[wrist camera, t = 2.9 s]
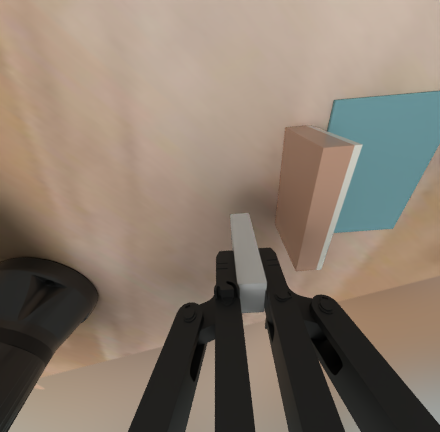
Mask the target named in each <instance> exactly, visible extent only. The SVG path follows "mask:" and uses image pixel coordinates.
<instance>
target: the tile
mask: <svg viewBox="0 0 440 432" xmlns="http://www.w3.org/2000/svg"><path fill="white" fill-rule="evenodd" d="M361 148H362V144H360V143H357V142H354V141H352V140H349V139H346V138H344V137H341V136H338V135H336V134H333V133H330V132H328V131H325V130H322V129H320V128H317V127H314V126H312V125H307V126H295V127H285V136H284V145H283V154H282V163H281V172H280V182H279V191H278V200H277V209H276V219H275V226H276V228H277V230H278V232H279V235H280V237H281V239H282V241H283V243H284V246H285V248H286V250H287V252H288V255H289V257H290V259H291V261H292V264H293V266H294V268H295V270H296V271H307V270H321V269H322V266H323V263H324V260H325V257H326V253H327V250H328V247H329V244H330V241H331V238H332V235H333V232H334V229H335V226H336V223H337V220H338V217H339V214H340V211H341V208H342V205H343V202H344V199H345V196H346V193H347V190H348V187H349V184H350V181H351V178H352V175H353V172H354V169H355V166H356V163H357V160H358V157H359V154H360V151H361Z"/></svg>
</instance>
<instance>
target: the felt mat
mask: <svg viewBox="0 0 440 432" xmlns="http://www.w3.org/2000/svg"><path fill="white" fill-rule="evenodd" d="M327 131H328V132H330V133H333V134H336V135H338V136H341V137H344V138H346V139H349V140H352V141H354V142H357V143H360V144H362V148H361V151H360V154H359V157H358V160H357V163H356V166H355V169H354V172H353V175H352V178H351V181H350V184H349V187H348V190H347V193H346V196H345V199H344V202H343V205H342V208H341V211H340V214H339V217H338V220H337V223H336V226H335V229H334V232H333V233H339V232H353V231H367V230H380V229H393V228H394V226H395V224H396V222H397V220H398V219H399V217H400V215H401V213H402V211H403V209H404V208H405V206H406V204H407V202H408V200H409V198H410V197H411V195H412V193H413V191H414V189H415V188H416V186H417V184H418V182H419V180H420V178H421V177H422V175H423V173H424V171H425V169H426V168H427V166H428V164H429V162H430V160H431V158H432V157H433V155H434V153H435V151H436V149H437V148H438V146H439V144H440V91H432V92H421V93H410V94H398V95H387V96H375V97H364V98H352V99H341V100H334V102H333V107H332V111H331V116H330V120H329V125H328V129H327Z"/></svg>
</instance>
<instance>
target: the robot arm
mask: <svg viewBox="0 0 440 432" xmlns="http://www.w3.org/2000/svg"><path fill="white" fill-rule="evenodd" d="M230 221H231V240H232V250H233V251H219V253H218V255H217V257H216V285H215V288H214V296H213V298H212V299H210V300H209V301H207V302H205V303H202V304H200V305H198V304H196V303H187V304H184V305H183V306H182V307H181V308H180V309H179V311H178V312H177V314H176V317H175V319H174V322H173V324H172V327H171V329H170V331H169V334H168V336H167V339H166V341H165V343H164V346H163V349H162V351H161V353H160V356H159V358H158V360H157V363H156V365H155V368H154V370H153V373H152V375H151V377H150V380H149V382H148V385H147V387H146V389H145V392H144V395H143V397H142V399H141V402H140V404H139V406H138V409H137V411H136V414H135V416H134V418H133V421H132V423H131V426H130V428H129V430H128V432H185V430H186V426H187V422H188V418H189V414H190V410H191V406H192V402H193V398H194V394H195V390H196V386H197V382H198V378H199V374H200V370H201V366H202V362H203V358H204V354H205V350H206V346H207V343H208V342H210V341H212V340H214V339H215V432H255V425H254V416H253V407H252V398H251V390H250V381H249V372H248V364H247V356H246V346H245V337H244V329H243V320H242V313H251V312H264V308H265V312H266V322H265V329H267V330H268V334H269V339H270V344H271V348H272V353H273V358H274V363H275V368H276V372H277V377H278V382H279V387H280V392H281V396H282V401H283V406H284V411H285V416H286V420H287V425H288V430H289V432H345V430H344V428H343V425H342V422H341V420H340V417H339V414H338V412H337V409H336V406H335V403H334V401H333V398H332V396H331V393H330V390H329V387H328V385H327V382H326V379H325V377H324V374H323V371H322V369H321V366H320V363H321V364H322V366H323V368H324V370H325V371H326V373H327V375H328V376H329V378H330V380H331V381H332V383H333V385H334V387H335V388H336V390H337V392H338V393H339V395H340V397H341V399H342V400H343V402H344V404H345V405H346V407H347V409H348V411H349V412H350V414H351V415H352V417H353V419H354V421H355V422H356V424H357V426H358V428H359V429H360V431H361V432H440V425H439V424H438V422H437V421H436V420H435V419H434V418H433V416H432V415H431V414H430V413H429V412H428V411H427V409H426V408H425V407H424V406H423V404H422V403H421V402H420V401H419V400H418V398H416V396H415V395H414V394H413V392H412V391H411V390H410V389H409V388H408V386H407V385H406V384H405V383H404V382H403V381H402V379H401V378H400V377H399V376H398V375H397V373H396V372H395V371H394V370H393V369H392V367H391V366H390V365H389V364H388V363H387V361H386V360H385V359H384V358H383V357H382V355H381V354H380V353H379V352H378V351H377V350H376V349H375V347H374V346H373V345H372V344H371V342H370V341H369V340H368V339H367V338H366V336H365V335H364V334H363V333H362V332H361V330H360V329H359V328H358V327H357V326H356V324H355V323H354V322H353V321H352V320H351V319H350V317H349V316H348V315H347V314H346V313H345V311H344V310H343V309H342V308H341V307H340V305H339V304H338V303H337V302H336V301H335V300H334V299H332V298H331V297H329V296H326V295H316V296H314V297H313V299H312V298H307V297H303V296H300V295H297V294H295V293H294V292H292V291H291V290H290V289H289V287H288V286H287V284H286V281H285V278H284V275H283V272H282V270H281V267H280V264H279V261H278V258H277V256H276V253H275V252H274V251H273V250H272V249H271V248H258V246H257V242H256V238H255V235H254V231H253V227H252V223H251V219H250V215H249V213H240V214H230ZM97 301H98V294H97V291H96V289H95V288H94V286H93V285H92V284H91V283H90V282H89V281H88V280H87V279H86V278H85V277H84V276H82V275H81V274H79V273H78V272H76V271H74V270H72V269H70V268H68V267H66V266H63V265H61V264H58V263H55V262H52V261H48V260H43V259H37V258H14V259H9V260H6V261H4V262H2V263H0V432H8V430H9V429H10V427H11V425H12V424H13V422H14V420H15V418H16V417H17V415H18V413H19V411H20V410H21V408H22V406H23V405H24V403H25V401H26V400H27V398H28V396H29V395H30V393H31V391H32V390H33V388H34V386H35V384H36V383H37V381H38V379H39V378H40V376H41V374H42V373H43V371H44V369H45V367H46V366H47V364H48V362H49V361H50V359H51V358H52V356H53V354H54V353H55V351H56V350H57V349H58V348H59V346H60V345H61V344H62V343H63V342H64V341H65V340H66V339H67V338H68V337H69V336H70V335H71V334H72V332H73V331H74V330H75V329H76V328H77V327H78V325H79V324H80V323H82V322H84V321H85V320H86V319H87V318H88V317H89V315H90V314H91V312H92V311H93V309H94V307H95V305H96V303H97ZM319 361H320V363H319Z"/></svg>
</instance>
